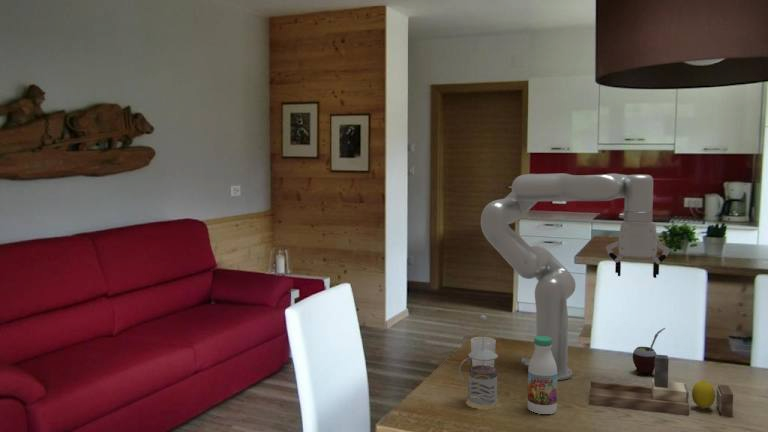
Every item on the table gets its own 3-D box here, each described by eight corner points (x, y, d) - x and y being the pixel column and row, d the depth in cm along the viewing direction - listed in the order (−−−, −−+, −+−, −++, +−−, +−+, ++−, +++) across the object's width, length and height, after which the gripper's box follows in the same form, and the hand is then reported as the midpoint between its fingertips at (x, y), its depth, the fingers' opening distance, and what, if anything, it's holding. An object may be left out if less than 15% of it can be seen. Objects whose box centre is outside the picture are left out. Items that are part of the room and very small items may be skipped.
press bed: (589, 404, 178) (589, 394, 178) (590, 390, 189) (590, 381, 188) (689, 415, 170) (689, 404, 170) (684, 400, 180) (684, 390, 180)
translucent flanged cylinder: (477, 365, 212) (478, 335, 212) (499, 369, 208) (500, 339, 207) (466, 371, 206) (466, 341, 205) (488, 376, 202) (488, 345, 201)
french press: (498, 411, 174) (499, 320, 172) (455, 407, 177) (455, 318, 175) (502, 398, 183) (503, 312, 181) (462, 394, 187) (462, 309, 184)
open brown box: (719, 415, 170) (720, 393, 169) (715, 405, 176) (716, 384, 176) (732, 417, 169) (733, 394, 168) (727, 407, 175) (728, 385, 175)
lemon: (717, 413, 171) (718, 384, 170) (694, 412, 172) (695, 383, 171) (711, 405, 176) (712, 377, 175) (689, 404, 177) (690, 376, 176)
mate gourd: (627, 372, 203) (628, 326, 202) (643, 368, 207) (645, 322, 206) (647, 379, 197) (649, 331, 196) (664, 374, 201) (665, 327, 200)
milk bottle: (525, 404, 179) (525, 333, 177) (553, 404, 178) (554, 333, 177) (530, 415, 171) (531, 342, 169) (560, 415, 171) (561, 341, 169)
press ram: (653, 403, 175) (654, 359, 174) (651, 393, 181) (652, 352, 180) (688, 406, 172) (689, 362, 171) (685, 397, 178) (686, 355, 177)
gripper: (606, 218, 185) (605, 277, 187) (672, 219, 179) (670, 280, 181) (606, 215, 192) (605, 272, 194) (669, 216, 186) (668, 275, 188)
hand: (636, 276), depth 187 cm, fingers open, 9 cm apart
